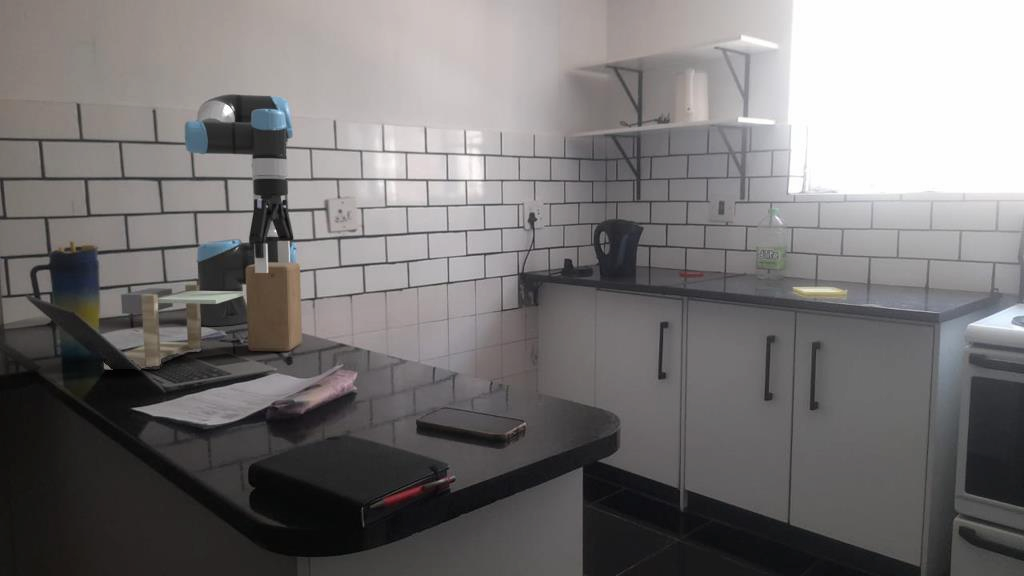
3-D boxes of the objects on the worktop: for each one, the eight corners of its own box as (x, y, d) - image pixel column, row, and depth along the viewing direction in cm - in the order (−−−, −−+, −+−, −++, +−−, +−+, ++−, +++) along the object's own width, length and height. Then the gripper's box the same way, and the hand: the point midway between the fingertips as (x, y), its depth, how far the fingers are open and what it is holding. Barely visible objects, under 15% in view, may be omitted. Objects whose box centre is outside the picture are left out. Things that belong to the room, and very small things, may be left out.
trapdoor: (154, 305, 165) (153, 287, 165) (245, 306, 164) (244, 288, 163) (117, 314, 151) (116, 295, 151) (216, 316, 150) (215, 297, 149)
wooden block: (290, 352, 168) (287, 265, 165) (246, 352, 168) (243, 265, 166) (303, 344, 178) (301, 262, 175) (262, 343, 178) (259, 261, 175)
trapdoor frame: (154, 350, 169) (151, 283, 167) (202, 351, 168) (199, 284, 166) (104, 369, 150) (99, 294, 148) (157, 370, 149) (153, 295, 148)
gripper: (275, 180, 181) (278, 265, 183) (230, 175, 156) (234, 274, 158) (305, 180, 180) (307, 266, 182) (264, 175, 155) (268, 275, 158)
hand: (273, 270), depth 170 cm, fingers open, 13 cm apart
